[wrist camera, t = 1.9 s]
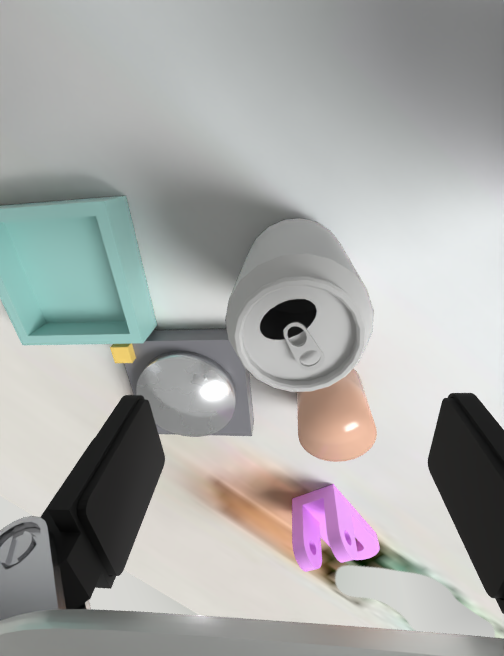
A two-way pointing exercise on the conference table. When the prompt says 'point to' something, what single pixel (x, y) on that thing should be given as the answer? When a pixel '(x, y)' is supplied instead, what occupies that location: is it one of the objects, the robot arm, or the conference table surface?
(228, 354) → the base
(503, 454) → the robot arm
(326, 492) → the bracket
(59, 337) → the trough
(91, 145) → the conference table surface
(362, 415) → the peach rounded knob
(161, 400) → the checker pad
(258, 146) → the conference table surface
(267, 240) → the can
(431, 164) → the conference table surface
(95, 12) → the conference table surface
